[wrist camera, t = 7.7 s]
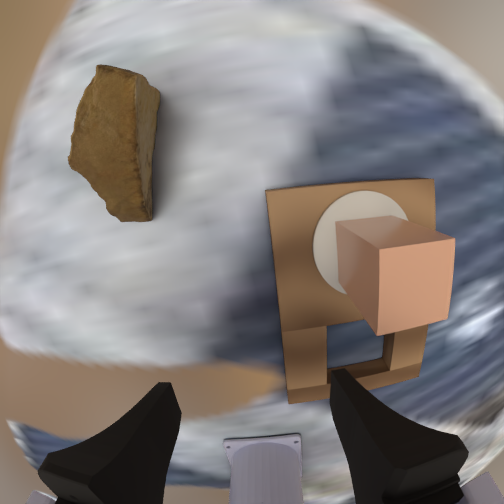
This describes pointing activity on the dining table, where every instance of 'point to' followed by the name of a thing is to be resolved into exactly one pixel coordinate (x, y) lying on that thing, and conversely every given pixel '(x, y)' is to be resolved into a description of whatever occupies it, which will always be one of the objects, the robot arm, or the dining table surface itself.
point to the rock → (117, 141)
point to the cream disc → (340, 210)
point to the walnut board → (326, 297)
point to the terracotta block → (395, 271)
